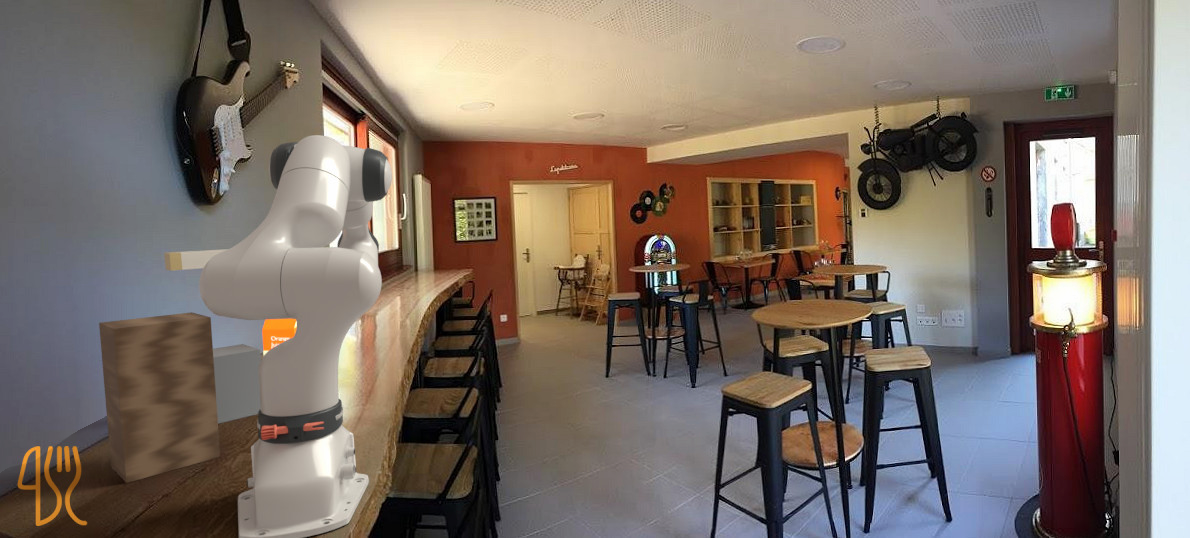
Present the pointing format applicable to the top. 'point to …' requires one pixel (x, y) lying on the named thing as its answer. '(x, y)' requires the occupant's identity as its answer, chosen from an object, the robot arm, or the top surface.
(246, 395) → the grey block
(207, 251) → the cream tan bar
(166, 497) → the top surface
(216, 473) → the top surface
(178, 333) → the walnut post
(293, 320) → the orange juice
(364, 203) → the robot arm
